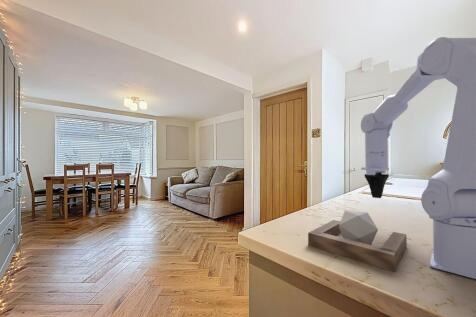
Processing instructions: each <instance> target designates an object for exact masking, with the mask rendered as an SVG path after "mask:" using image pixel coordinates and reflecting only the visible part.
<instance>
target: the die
mask: <svg viewBox="0 0 476 317" xmlns="http://www.w3.org/2000/svg"><path fill="white" fill-rule="evenodd" d="M339 221H340V224H339V229H340V231H341V233H340V234H341V236H342V238H345V239H349V240H353V241H357V242H361V243H365V244H369V245H373V242H374V240H375V237H377V236H376V235H377V233H378V231H379V228H378V227H377V225H376V223H375V222H374V220H373V219H372V217H371V216H370V214H369V212H365V211H354V210H353V211H352V210H344V212H343V214H342V216H341V219H340V220H339Z"/></svg>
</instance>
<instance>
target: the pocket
mask: <svg viewBox="0 0 476 317" xmlns="http://www.w3.org/2000/svg"><path fill="white" fill-rule="evenodd" d="M340 221H341V220H334V219H333V220H331V221H329V222H327V223H325V224H322V225H321V226H319V227H317V228H315V229H313V230H311V231H309V232H308V233H307V236H308V237H307V242H308V243H307V245H308V246H310V247H314V248H316V249H320V250H323V251H327V252H330V253H333V254H337V255H340V256H342V257H346V258H349V259H353V260H356V261H359V262H362V263H364V264H368V265H372V266H375V267H378V268H381V269H384V270H387V271H391V272H395V271H396V269H397V267H398V265H399V263H400V261H401V259H402V257H403V255H404V253H405V251H406V249H407V246H408V245H407V234H406V233H403V232H402V233H401V232H396V231H393V232H392V233H391V235H389V237H388V238H387V239H386V240H385V241H384V243H383V244H382V245H381V246H377V245H373V244H371V245H369V244H365V243H361V242H357V241H353V240H349V239H345V238H343V237H341V236H339V235H340V234H341V231H340V229H339V224H340Z"/></svg>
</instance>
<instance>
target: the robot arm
mask: <svg viewBox="0 0 476 317" xmlns="http://www.w3.org/2000/svg"><path fill="white" fill-rule="evenodd" d="M444 79H445V80H447V81H448V82H450V83H451V84H452V85H454V86H456V88H457V89H456V92H455V93H456V94H455V99H454V106H453V110H452V116H451V120H450V128H449V132H448V138H447V143H446V147H445V148H446V149H445V155H444V159H443V164H442V169H440V171H438V172H436V173H435V174H434V175H432V176H431V177H429V178H428V183H427V185H426V187H425V189H424V190H423V191H422V193H421V197H420V200H421V201H420V202H421V206H422V209H423V210H424V212H425V213H426V214H427V215H428V217H429V219H431V220H432V237H433V238H432V239H433V240H432V242H433V249H432V250H433V252H431V256H430V260H429V261H430V262H429V267H430V268H433V269H437V270H441V271H444V272H448V273H452V274H456V275H459V276H464V277H466V278H470V279H473V280H476V37H445V36H441V37H437V38H434V39H433V40H432V41H431V42H429V43H428V44H427V45H426V47H425V48H424V49H423V50H422V52H421V53H420V54H419V55H418V56H417V60H416V68H415V69H414V70H413V71H412V73H411V74H410V76H409V77H407V79H406V80H405V81H404V83H403V84H402V85H401V86H400V88H399V89H398V90H397V92H396V93H395V94H391V95H388V96H386V97H385V98H384V100H383V101H382V102H381V103H380V104H379V105H378V106H377V108H375V109H374V111H373V112H370V113H365V114H364V115H363V117H362V118H361V122H360V130H361V132H362V133H364V138H365V139H364V140H365V142H364V144H365V145H364V146H365V149H364V151H365V153H364V154H365V167H364V166H362V167H361V168H360V169H361V170H362V171H363V170H364V171H366V172H365V174H364V178H365V180H366V181H367V183H368V186H369V189H370V194H371V198H375V199H382V197H383V194H384V193H383V192H384V189H385V185H386V182H387V181H388V178H389V177H390V174H387V173H386V171H389V170H390V168H389V157H388V156H389V154H388V153H389V152H388V149H389V146H388V142H389V141H388V140H389V138H390V134H391V133H390V132H391V129H392V128H393V123H394V122H395V121H396V120H397V119H398V118H399V117H400V116H401V115H402V114H404V112H406V111H407V110H408V107H409V104H408V102H410V101H411V100H412V99H413V98H415V97H416V96H417V95H418V94H419V93H421V92H422V91H423V90H425V89H426V88H427V87H428V86H429V85H430V84H432V83H434V82H435V81H437V80H438V81H439V80H444Z"/></svg>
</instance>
